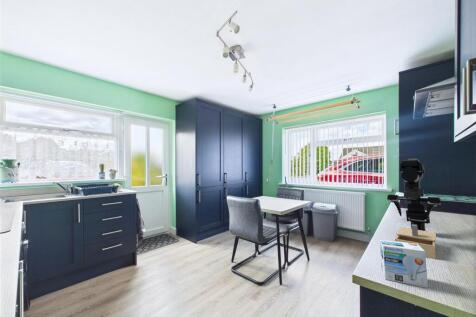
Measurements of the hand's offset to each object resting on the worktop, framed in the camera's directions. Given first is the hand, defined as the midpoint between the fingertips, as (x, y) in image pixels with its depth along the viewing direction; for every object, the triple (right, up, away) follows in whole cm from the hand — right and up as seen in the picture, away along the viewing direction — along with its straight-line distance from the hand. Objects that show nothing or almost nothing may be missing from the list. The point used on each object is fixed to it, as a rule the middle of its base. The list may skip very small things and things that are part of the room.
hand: (413, 217), depth 91 cm
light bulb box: (-30, -11, -29) cm, 43 cm away
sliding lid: (-2, -6, -4) cm, 8 cm away
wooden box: (-6, -11, -8) cm, 16 cm away
